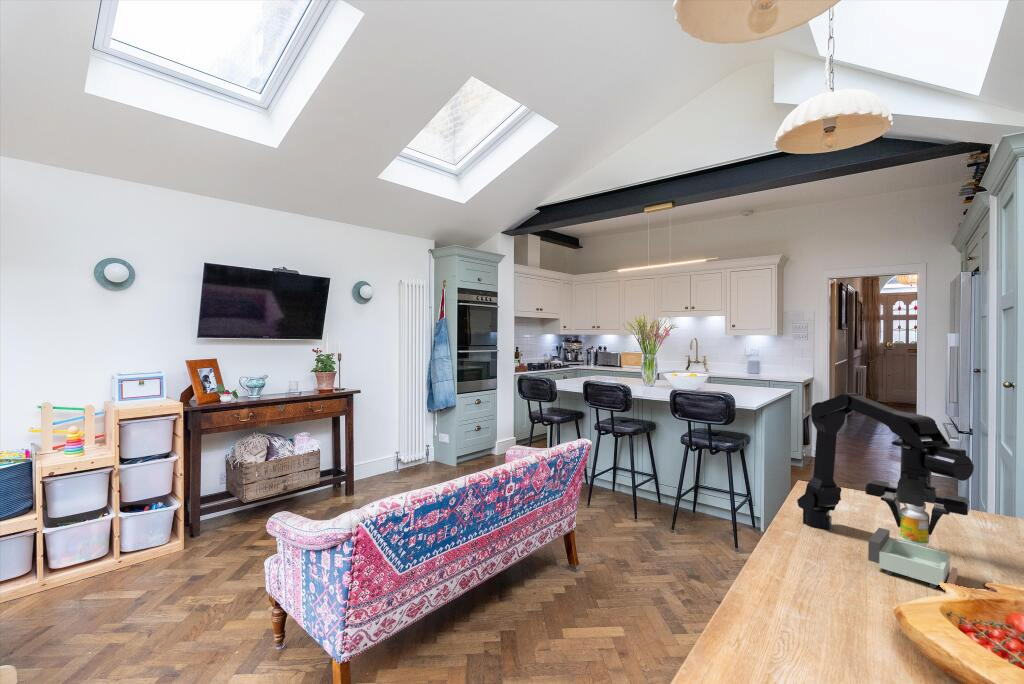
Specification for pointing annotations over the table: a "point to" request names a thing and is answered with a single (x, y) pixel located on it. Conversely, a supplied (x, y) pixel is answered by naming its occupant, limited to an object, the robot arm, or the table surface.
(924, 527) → the supplement bottle
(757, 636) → the table surface
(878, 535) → the pale green bin
